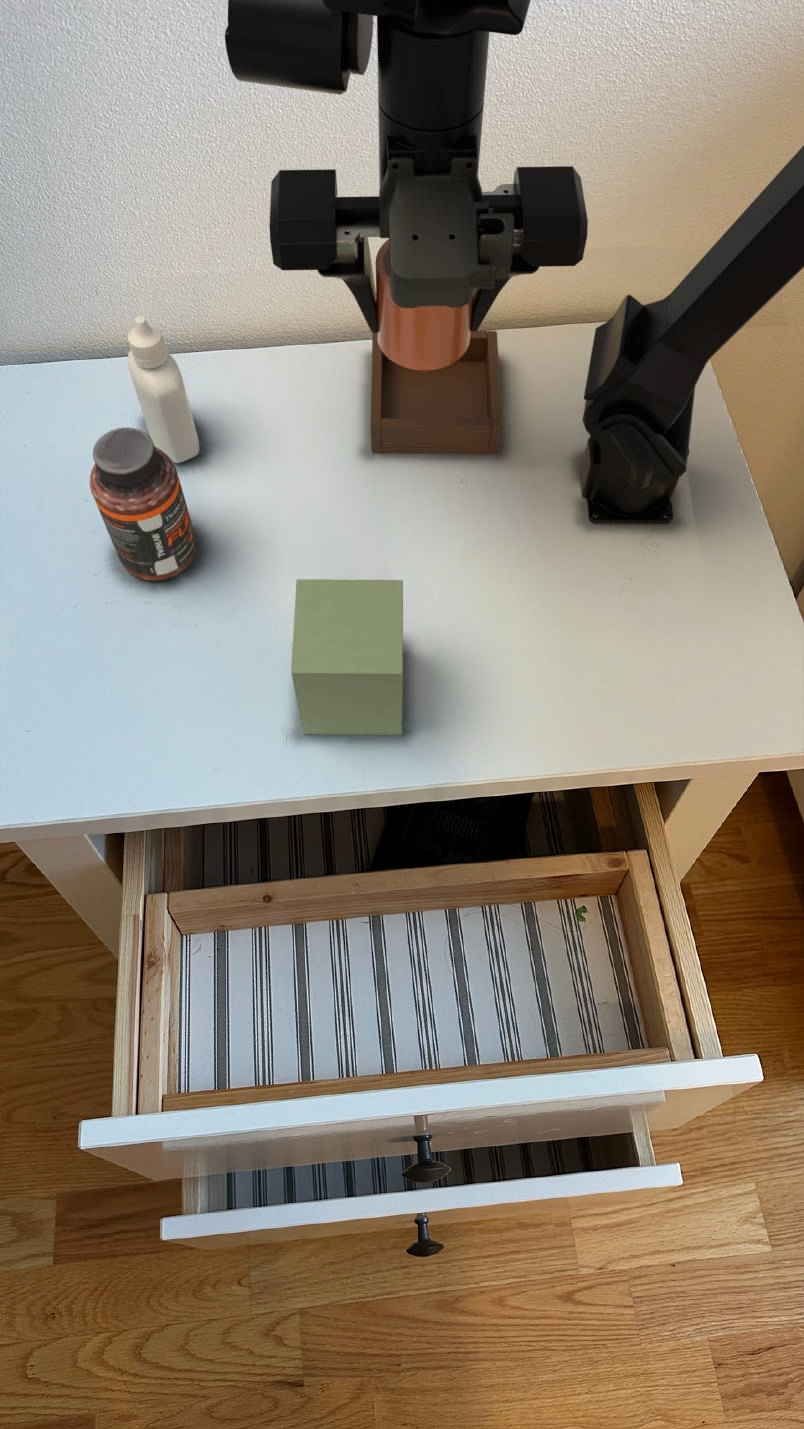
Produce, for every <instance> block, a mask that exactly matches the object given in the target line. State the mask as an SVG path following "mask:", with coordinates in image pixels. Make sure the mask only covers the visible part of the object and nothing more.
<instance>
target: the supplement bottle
mask: <svg viewBox="0 0 804 1429" xmlns="http://www.w3.org/2000/svg"><path fill="white" fill-rule="evenodd" d="M92 458H93V461H94V465H93V466H92V468H91V471H90V474H89V487H90V491H91V492H90V493H91V494H92V497H93V499H94V501H95V504H96V507H97V509H98V511H99V513H100V516H101V518H102V521H103V523H104V525H105V528H106V531H107V534H108V535H109V537H110V540H111V542H112V545H113V548H114V550H115V552H116V554H117V557H118V559H119V561H120V563H121V565H122V567H123V568H124V569H125V570H126V571H127V572H128V573H129V574H130V575H132V576H133V577H136V578H138V579H141V580H143V581H151V582H152V581H153V582H154V581H164V580H168V579H171V578H174V577H175V576H178V575H180V574H182V573H183V571H185V570H186V569H187V568H188V567H189V566H190V565H191V563H192V562H193V560H194V558H195V555H196V553H197V548H198V547H197V546H198V545H197V537H196V533H195V528H194V525H193V522H192V518H191V515H190V512H189V509H188V505H187V502H186V499H185V494H184V491H183V487H182V484H181V480H180V477H179V474H178V470H177V469H176V465H175V463H174V462H173V461H172V460H171V459H170V457H169V456H167V454H166V453H164V452H163V451H162V450H160V449H158V448H156V446H155V445H154V443H153V441H152V439H151V437H150V435H148V434H147V433H146V432H144V431H143V430H141V429H138V428H134V427H129V426H128V427H118V428H115V429H112V430H110V431H109V430H108V431H107V432H106V433H104V434H103V435H102V436H100V437H99V438H98V440H96V442H95V443H94V446H93V449H92Z"/></svg>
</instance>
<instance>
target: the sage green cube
mask: <svg viewBox="0 0 804 1429" xmlns="http://www.w3.org/2000/svg"><path fill="white" fill-rule="evenodd" d="M295 582H296V583H295V598H294V599H295V600H294V616H293V634H292V651H291V666H290V667H291V669H290V674H291V679H292V683H293V688H294V694H295V699H296V704H297V710H298V714H299V720H300V724H301V729H302V733H303V735H355V736H356V735H360V736H361V735H363V736H365V735H367V736H368V735H375V736H377V735H378V736H383V735H386V736H391V735H392V736H393V735H394V736H400V735H401V736H402V734H403V688H404V686H403V685H404V684H403V683H404V677H403V676H404V580H403V579H313V578H312V579H307V578H305V579H304V578H303V579H300V578H299V579H296V581H295Z"/></svg>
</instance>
